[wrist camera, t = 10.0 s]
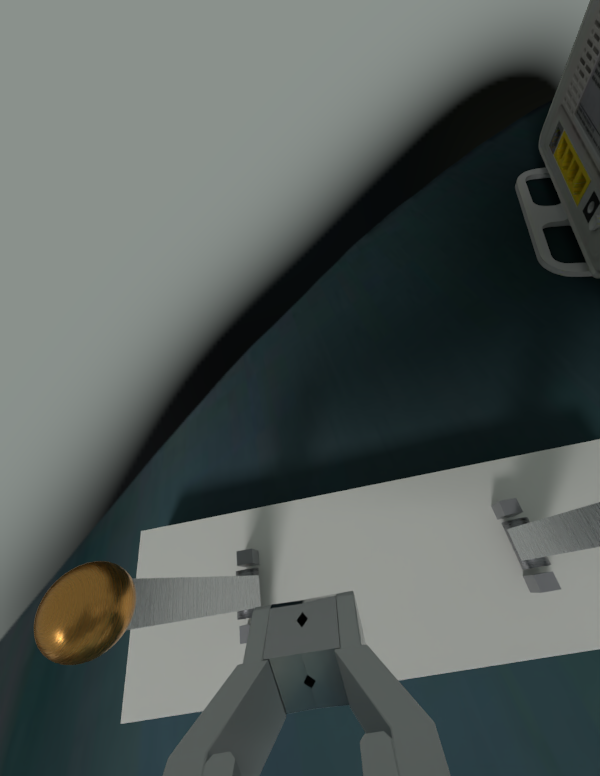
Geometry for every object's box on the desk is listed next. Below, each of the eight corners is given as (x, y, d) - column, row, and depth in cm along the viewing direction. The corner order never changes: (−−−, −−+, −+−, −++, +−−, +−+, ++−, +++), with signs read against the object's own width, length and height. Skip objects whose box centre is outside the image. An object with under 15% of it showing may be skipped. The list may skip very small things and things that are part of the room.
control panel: (580, 454, 24) (619, 429, 20) (689, 621, 18) (769, 630, 15) (163, 536, 26) (129, 528, 22) (151, 707, 21) (103, 733, 17)
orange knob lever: (233, 569, 21) (27, 569, 12) (273, 560, 20) (86, 552, 11) (235, 625, 20) (-2, 679, 10) (279, 618, 19) (64, 670, 9)
